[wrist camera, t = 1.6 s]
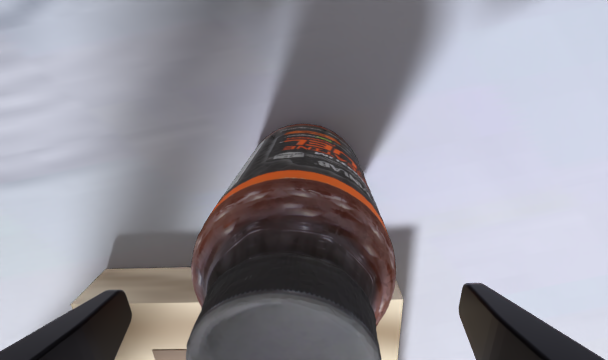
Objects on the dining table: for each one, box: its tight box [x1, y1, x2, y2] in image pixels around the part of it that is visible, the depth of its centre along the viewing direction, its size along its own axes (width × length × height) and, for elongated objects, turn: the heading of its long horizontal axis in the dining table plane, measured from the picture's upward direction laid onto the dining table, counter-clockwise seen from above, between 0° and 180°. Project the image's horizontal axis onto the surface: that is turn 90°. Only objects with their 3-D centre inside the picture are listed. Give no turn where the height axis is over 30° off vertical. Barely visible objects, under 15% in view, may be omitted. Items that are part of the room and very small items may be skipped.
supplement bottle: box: [186, 124, 396, 360], centre depth 11 cm, size 6×6×11 cm
